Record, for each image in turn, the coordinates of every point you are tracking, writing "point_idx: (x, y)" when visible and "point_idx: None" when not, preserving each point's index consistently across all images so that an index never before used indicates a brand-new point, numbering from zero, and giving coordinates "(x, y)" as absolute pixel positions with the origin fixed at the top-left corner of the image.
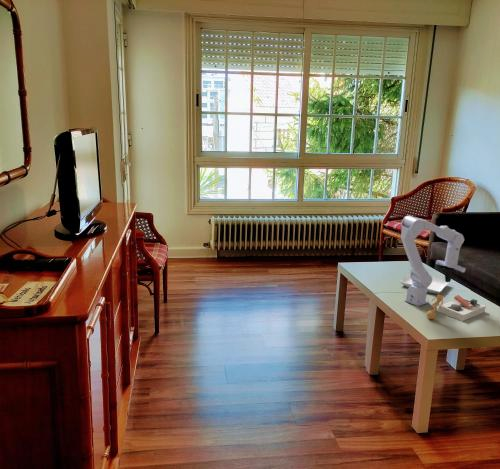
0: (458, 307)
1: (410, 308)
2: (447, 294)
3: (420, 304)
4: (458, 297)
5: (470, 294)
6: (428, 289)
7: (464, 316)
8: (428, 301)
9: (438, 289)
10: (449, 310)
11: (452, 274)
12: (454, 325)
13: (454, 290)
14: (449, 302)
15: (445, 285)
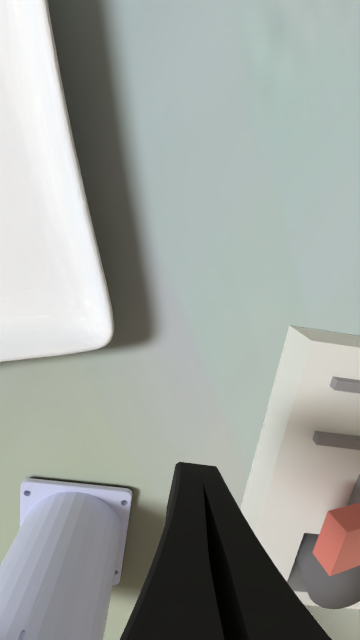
0: (358, 594)
1: (107, 619)
2: (144, 218)
3: (119, 567)
4: (352, 555)
5: (300, 4)
6: (15, 355)
7: None
8: (127, 496)
9: (43, 195)
10: (302, 597)
11: (281, 624)
12: (342, 627)
13: (141, 24)
14: (267, 511)
15: (57, 96)
